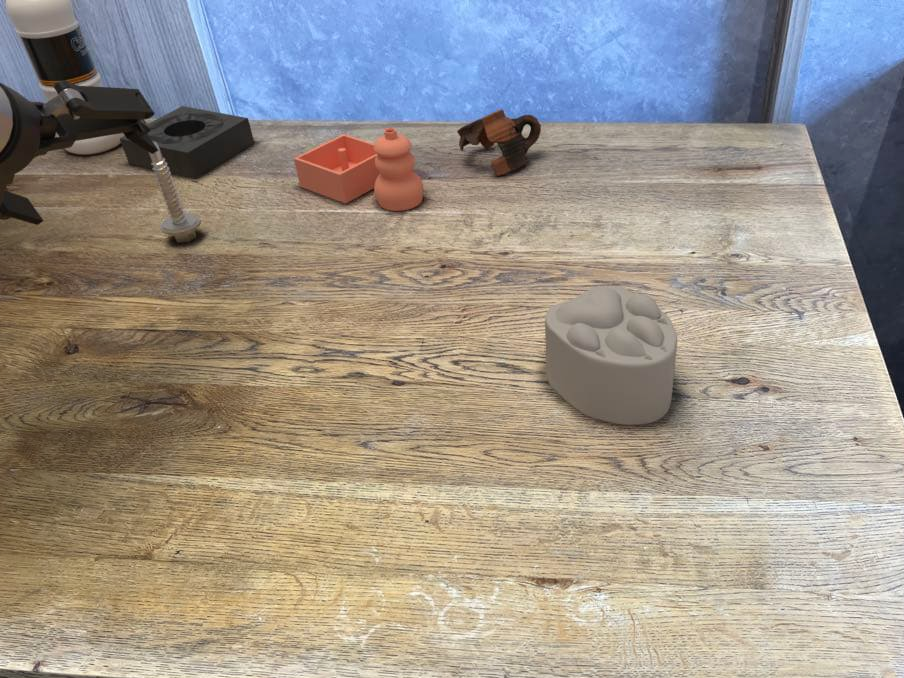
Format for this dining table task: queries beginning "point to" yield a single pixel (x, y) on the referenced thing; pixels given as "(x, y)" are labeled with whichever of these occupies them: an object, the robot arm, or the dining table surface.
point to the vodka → (58, 55)
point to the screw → (173, 203)
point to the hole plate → (192, 141)
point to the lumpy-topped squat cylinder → (612, 355)
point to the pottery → (363, 170)
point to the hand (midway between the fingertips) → (90, 176)
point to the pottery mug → (502, 138)
